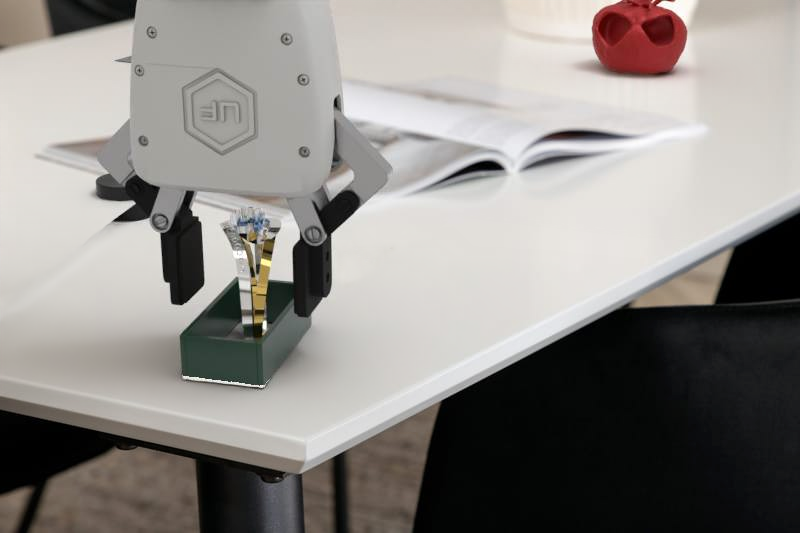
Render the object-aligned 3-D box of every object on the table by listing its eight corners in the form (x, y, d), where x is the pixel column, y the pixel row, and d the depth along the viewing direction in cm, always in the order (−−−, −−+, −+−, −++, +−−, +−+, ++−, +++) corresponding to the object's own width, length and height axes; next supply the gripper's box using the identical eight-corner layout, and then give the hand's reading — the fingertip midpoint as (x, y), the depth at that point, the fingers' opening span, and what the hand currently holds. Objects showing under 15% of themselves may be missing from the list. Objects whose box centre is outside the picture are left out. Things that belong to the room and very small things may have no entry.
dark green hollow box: (181, 379, 65) (179, 335, 64) (238, 316, 72) (236, 276, 71) (263, 389, 64) (262, 343, 63) (311, 324, 71) (310, 283, 70)
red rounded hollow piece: (599, 57, 142) (605, -28, 138) (690, 63, 138) (697, -23, 135) (580, 74, 133) (585, -15, 129) (676, 82, 130) (684, -10, 126)
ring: (236, 326, 71) (226, 190, 68) (293, 325, 71) (285, 189, 68) (221, 381, 65) (209, 234, 62) (283, 380, 65) (275, 232, 62)
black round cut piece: (88, 219, 88) (85, 185, 87) (113, 202, 92) (110, 168, 91) (141, 223, 87) (139, 189, 86) (164, 206, 91) (162, 172, 90)
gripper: (31, -42, 59) (65, 313, 65) (391, -28, 55) (390, 346, 62) (101, -60, 66) (126, 263, 72) (426, -49, 62) (422, 290, 69)
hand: (248, 298), depth 67 cm, fingers open, 6 cm apart
